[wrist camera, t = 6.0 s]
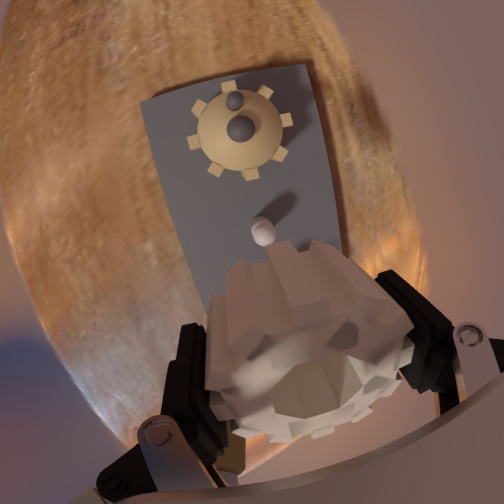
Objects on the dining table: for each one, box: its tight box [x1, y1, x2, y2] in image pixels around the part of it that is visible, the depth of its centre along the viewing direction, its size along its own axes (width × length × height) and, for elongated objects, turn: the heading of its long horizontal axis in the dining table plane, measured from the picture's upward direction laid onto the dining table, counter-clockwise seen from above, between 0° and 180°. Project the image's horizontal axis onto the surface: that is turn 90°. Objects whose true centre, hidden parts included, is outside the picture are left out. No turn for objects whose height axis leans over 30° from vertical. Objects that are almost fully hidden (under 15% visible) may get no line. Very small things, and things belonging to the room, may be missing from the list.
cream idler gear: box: [205, 240, 415, 443], centre depth 9 cm, size 7×7×4 cm
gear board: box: [140, 64, 342, 315], centre depth 21 cm, size 26×14×8 cm, turn 14°
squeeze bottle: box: [213, 420, 246, 487], centre depth 24 cm, size 8×8×18 cm
